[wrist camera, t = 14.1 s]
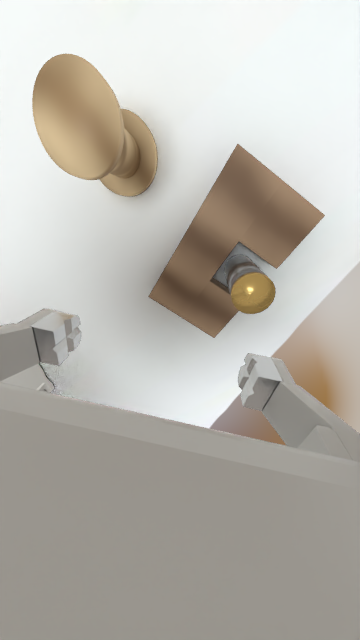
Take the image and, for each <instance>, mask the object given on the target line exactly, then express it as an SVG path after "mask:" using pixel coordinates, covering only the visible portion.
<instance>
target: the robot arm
mask: <svg viewBox="0 0 360 640" xmlns="http://www.w3.org/2000/svg"><path fill="white" fill-rule="evenodd" d="M79 325H80V318H79V317H78V316H77V315H73V314H69V313H64V312H60V311H56V310H51V309H42V310H41V311H39V312H37V313H35V314H33V315H32V316H30V317H28V318H26V319H24V320H23V321H21V322H19V323H17V324H14V323H11V324H6V325H1V326H0V640H360V434H359V433H358V432H357V431H356V430H354V429H353V428H352V427H351V426H349V425H348V424H347V423H345V422H344V421H343V420H342V419H341V418H339V417H338V416H337V415H336V414H334V413H333V412H332V411H331V410H329V409H328V408H327V407H325V406H324V405H323V404H322V403H320V402H319V401H318V400H317V399H315V398H314V397H313V396H312V395H311V394H309V393H308V392H307V391H305V390H304V389H303V388H302V387H300V386H298V385H296V384H295V382H294V380H293V378H292V377H291V375H290V373H289V371H288V369H287V368H286V366H285V364H284V362H283V361H282V360H281V359H277V358H272V357H266V356H261V355H256V354H251V353H248V354H247V355H246V357H245V359H244V361H245V365H243V366H242V367H241V368H240V371H239V375H238V385H239V387H240V388H241V389H242V392H241V394H240V395H241V399H242V404H243V407H247V408H252V409H255V410H259V411H262V413H263V414H264V416H265V417H266V418H267V420H268V421H269V422H270V424H271V425H272V426H273V428H274V429H275V430H276V432H277V433H278V434H279V436H280V437H281V438H282V439H283V441H284V442H285V444H286V445H287V446H285V445H280V444H276V443H272V442H267V441H262V440H258V439H253V438H249V437H244V436H240V435H235V434H231V433H227V432H222V431H218V430H213V429H209V428H204V427H200V426H195V425H191V424H186V423H182V422H178V421H173V420H169V419H164V418H160V417H155V416H151V415H146V414H142V413H137V412H133V411H128V410H124V409H119V408H115V407H110V406H106V405H101V404H97V403H92V402H88V401H83V400H79V399H74V398H70V397H65V396H61V395H57V394H52V393H51V391H52V390H53V389H54V386H53V384H52V383H51V382H50V381H49V380H48V379H47V377H46V376H45V374H44V372H43V370H42V368H41V367H40V365H39V363H40V362H42V363H47V364H53V365H58V366H59V365H60V364H61V363H62V362H63V361H64V360H65V359H66V358H67V357H68V352H71V351H73V350H75V349H76V348H77V347H78V345H79V343H80V341H81V331H80V330H79V328H78V326H79Z"/></svg>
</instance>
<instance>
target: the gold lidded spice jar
mask: <svg viewBox="0 0 360 640" xmlns="http://www.w3.org/2000/svg"><path fill="white" fill-rule="evenodd" d="M224 272H225V276H226V280H227V284H228V288H229V291H230V295H231V299H232V302H233V304H234V306H235V307H236V308H237V309H238V310H239V311H241V312H243V313H247V314H255V313H259V312H261V311H263V310H265V309H266V308H268V307H269V306H270V305H271V303H272V302H273V300H274V297H275V286H274V284H273V282H272V281H271V280H270V279H269V278H268V277H267V276H266V275H265V274H264V273H263V272H262V271H261V270H260V269H259V268H258V267H257V266H256V265H255V264H254V263H253V262H252V261H251V260H250V259H249V258H248V257H247V256H245V255H235V256H233V257H231V258H230V259H229V260H228V261H227V262H226V264H225V268H224Z"/></svg>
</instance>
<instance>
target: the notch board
mask: <svg viewBox="0 0 360 640" xmlns="http://www.w3.org/2000/svg"><path fill="white" fill-rule="evenodd" d="M324 216H325V215H324V214H323V213H321V212H320V211H319V210H318V209H317V208H315V207H314V206H313V205H312V204H311V203H309V202H308V201H307V200H306V199H304V198H303V197H302V196H301V195H300V194H298V193H297V192H296V191H295V190H293V189H292V188H291V187H290V186H289V185H287V184H286V183H285V182H284V181H283V180H281V179H280V178H279V177H278V176H276V175H275V174H274V173H273V172H272V171H270V170H269V169H268V168H267V167H265V166H264V165H263V164H262V163H261V162H259V161H258V160H257V159H256V158H255V157H253V156H252V155H251V154H250V153H248V152H247V151H246V150H245V149H244V148H242V147H241V146H240V145H239V144H237V146H236V147H235V149H234V151H233V153H232V154H231V156H230V158H229V159H228V161H227V163H226V165H225V166H224V168H223V170H222V171H221V173H220V175H219V177H218V178H217V180H216V182H215V183H214V185H213V187H212V189H211V190H210V192H209V194H208V195H207V197H206V199H205V201H204V202H203V204H202V206H201V207H200V209H199V211H198V213H197V214H196V216H195V218H194V219H193V221H192V223H191V225H190V226H189V228H188V230H187V231H186V233H185V235H184V237H183V238H182V240H181V242H180V243H179V245H178V247H177V249H176V250H175V252H174V254H173V255H172V257H171V259H170V261H169V262H168V264H167V266H166V267H165V269H164V271H163V273H162V274H161V276H160V278H159V279H158V281H157V283H156V285H155V286H154V288H153V290H152V291H151V293H150V295H149V296H148V297H150V298H151V299H153V300H154V301H156V302H158V303H159V304H161V305H162V306H164V307H166V308H167V309H169V310H170V311H172V312H174V313H175V314H177V315H178V316H180V317H182V318H183V319H185V320H186V321H188V322H189V323H191V324H193V325H194V326H196V327H197V328H199V329H201V330H202V331H204V332H205V333H207V334H209V335H210V336H212V337H213V338H215V337H216V335H217V334H218V333H219V332H220V331H221V330H222V329H223V328H224V327H225V325H226V324H227V323H228V322H229V321H230V320H231V319H232V318H233V317H234V315H235V314H236V313H237V312H238V311H239V310H238V309H237V308H236V307H235V306H234V304H233V302H232V299H231V295H230V291H229V288H228V287H226V286H225V285H223V284H222V283H220V282H219V281H217V280H216V279H214V278H213V276H214V274H215V273H216V271H217V270H218V269H219V267H220V266H221V265H222V263H223V262H224V261H225V259H226V258H227V257H228V255H229V254H230V252H231V251H232V250H233V248H234V247H235V246H236V244H237V243H238V242H241V243H242V244H243V245H245V246H246V247H247V248H249V249H250V250H252V251H253V252H254V253H256V254H257V255H258V256H260V257H261V258H262V259H264V260H265V261H267V262H268V263H269V264H271V265H272V266H273V267H275V268H276V269H277V268H278V267H279V266H280V265H281V263H282V262H283V261H284V260H285V259H286V258H287V257H288V256H289V255H290V254H291V252H292V251H293V250H294V249H295V248H296V247H297V246H298V245H299V244H300V242H301V241H302V240H303V239H304V238H305V237H306V236H307V235H308V234H309V233H310V231H311V230H312V229H313V228H314V227H315V226H316V225H317V224H318V223H319V221H320V220H321V219H322V218H323V217H324Z"/></svg>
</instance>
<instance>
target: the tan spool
mask: <svg viewBox="0 0 360 640" xmlns="http://www.w3.org/2000/svg"><path fill="white" fill-rule="evenodd" d="M32 102H33V116H34V121H35V126H36V129H37V132H38V135H39V138H40V140H41V142H42V144H43V146H44V148H45V150H46V152H47V153H48V154H49V156H50V157H51V159H52V160H53V161H54V162H55V163H56V164H57V165H58V166H59V167H60V168H61V169H62V170H64V171H65V172H67V173H69V174H70V175H73V176H75V177H78V178H82V179H85V180H97V179H100V180H101V182H102V183H103V184H104V185H105V186H106V187H107V188H108V189H109V190H111V191H112V192H114V193H116V194H119V195H123V196H128V197H129V196H136V195H139V194H141V193H142V192H144V191H145V190H146V189H147V188H148V187H149V186H150V184H151V183H152V181H153V179H154V176H155V173H156V169H157V159H158V158H157V149H156V144H155V141H154V138H153V136H152V134H151V132H150V130H149V129H148V127H147V126H146V124H145V123H144V122H143V121H142V120H141V118H139V117H138V116H137V115H136V114H134V113H133V112H131V111H129V110H125V109H120V106H119V103H118V101H117V98H116V96H115V94H114V92H113V90H112V89H111V87H110V86H109V84H108V83H107V82H106V80H105V79H104V78H103V76H102V75H101V74H100V73H99V72H98V70H97V69H96V68H95V67H94V66H93V65H92V64H90V63H89V62H88V61H86V60H85V59H83V58H81V57H79V56H76V55H72V54H61V55H57V56H55V57H53V58H51V59H50V60H48V61H47V62H46V63H45V64H44V65H43V67H42V68H41V70H40V71H39V74H38V76H37V78H36V81H35V85H34V90H33V99H32Z"/></svg>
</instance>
